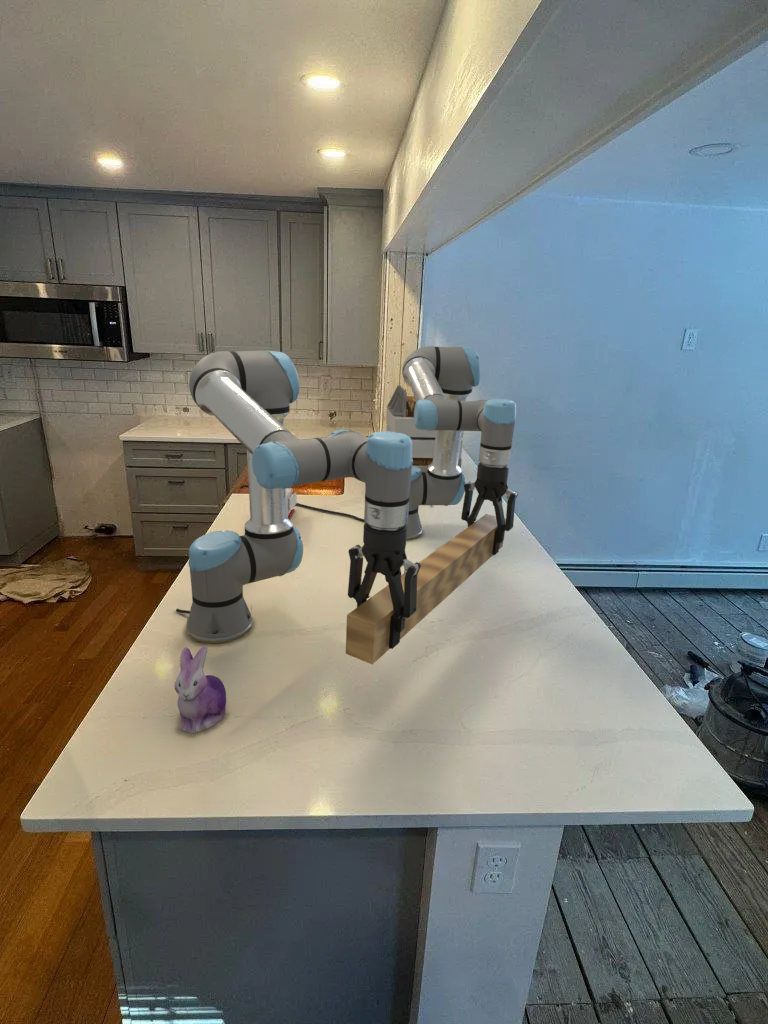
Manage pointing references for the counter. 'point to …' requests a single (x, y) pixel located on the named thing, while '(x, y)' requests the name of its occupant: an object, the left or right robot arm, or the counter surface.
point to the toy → (290, 502)
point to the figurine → (198, 693)
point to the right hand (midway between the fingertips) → (483, 549)
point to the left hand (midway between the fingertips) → (379, 638)
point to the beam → (421, 589)
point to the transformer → (412, 428)
